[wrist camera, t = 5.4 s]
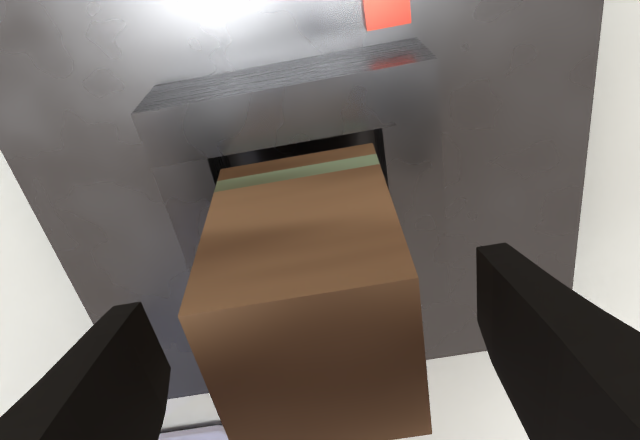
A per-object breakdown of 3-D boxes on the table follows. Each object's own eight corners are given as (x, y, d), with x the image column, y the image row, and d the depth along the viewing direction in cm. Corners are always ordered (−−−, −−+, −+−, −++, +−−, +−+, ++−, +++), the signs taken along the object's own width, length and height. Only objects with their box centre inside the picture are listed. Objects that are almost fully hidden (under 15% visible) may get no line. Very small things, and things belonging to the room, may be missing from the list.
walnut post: (387, 266, 15) (432, 433, 10) (256, 288, 15) (237, 462, 10) (372, 142, 13) (418, 278, 8) (220, 169, 13) (177, 316, 8)
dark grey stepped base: (555, 321, 22) (598, 387, 19) (141, 385, 22) (118, 458, 19) (607, -233, 12) (708, -280, 9) (-98, -87, 13) (-214, -88, 10)
